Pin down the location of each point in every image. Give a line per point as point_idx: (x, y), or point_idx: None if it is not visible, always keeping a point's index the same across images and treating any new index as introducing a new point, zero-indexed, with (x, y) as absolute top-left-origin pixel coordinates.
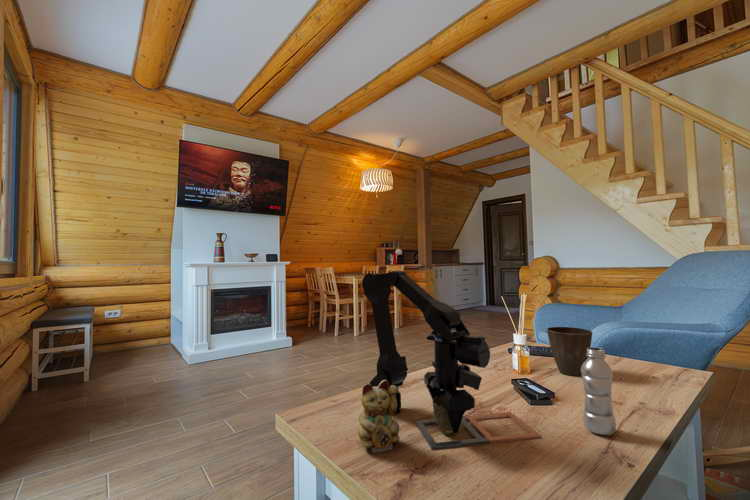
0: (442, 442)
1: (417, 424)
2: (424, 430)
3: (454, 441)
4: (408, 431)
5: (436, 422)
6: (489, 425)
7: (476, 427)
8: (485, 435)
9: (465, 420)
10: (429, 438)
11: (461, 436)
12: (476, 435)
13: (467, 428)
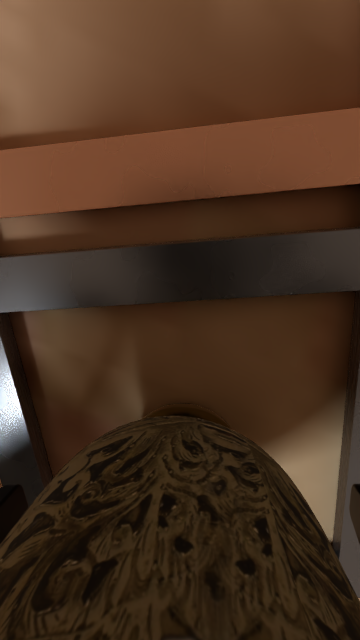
0: (344, 535)
1: None
2: None
3: (358, 468)
4: None
5: (46, 480)
6: (69, 6)
7: (152, 203)
8: (338, 177)
9: (10, 261)
10: None
11: (251, 372)
12: (313, 269)
13: (169, 301)
